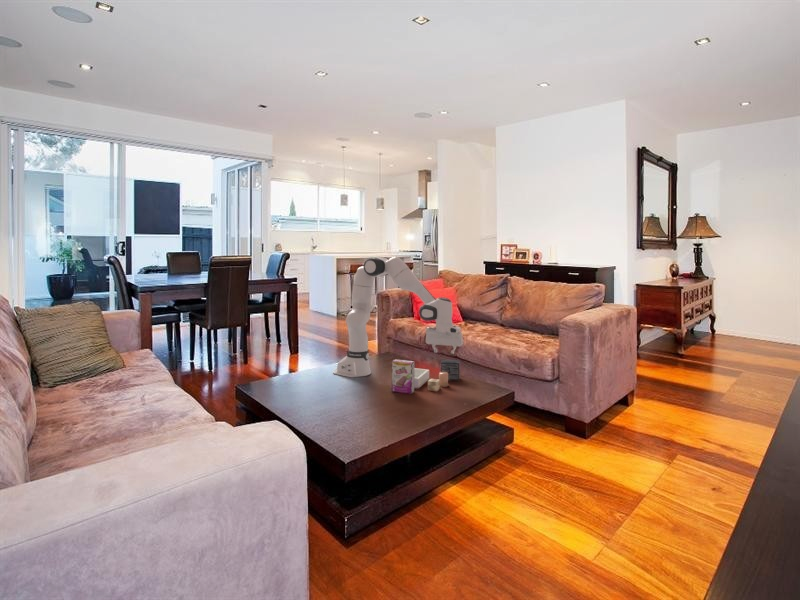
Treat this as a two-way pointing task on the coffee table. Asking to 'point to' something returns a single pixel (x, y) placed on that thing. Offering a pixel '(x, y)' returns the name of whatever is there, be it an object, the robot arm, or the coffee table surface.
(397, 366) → the candy bar box
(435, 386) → the maple cube
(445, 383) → the peach capsule
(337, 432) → the coffee table surface
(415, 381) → the white tote
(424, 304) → the robot arm
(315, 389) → the coffee table surface
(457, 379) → the small box
